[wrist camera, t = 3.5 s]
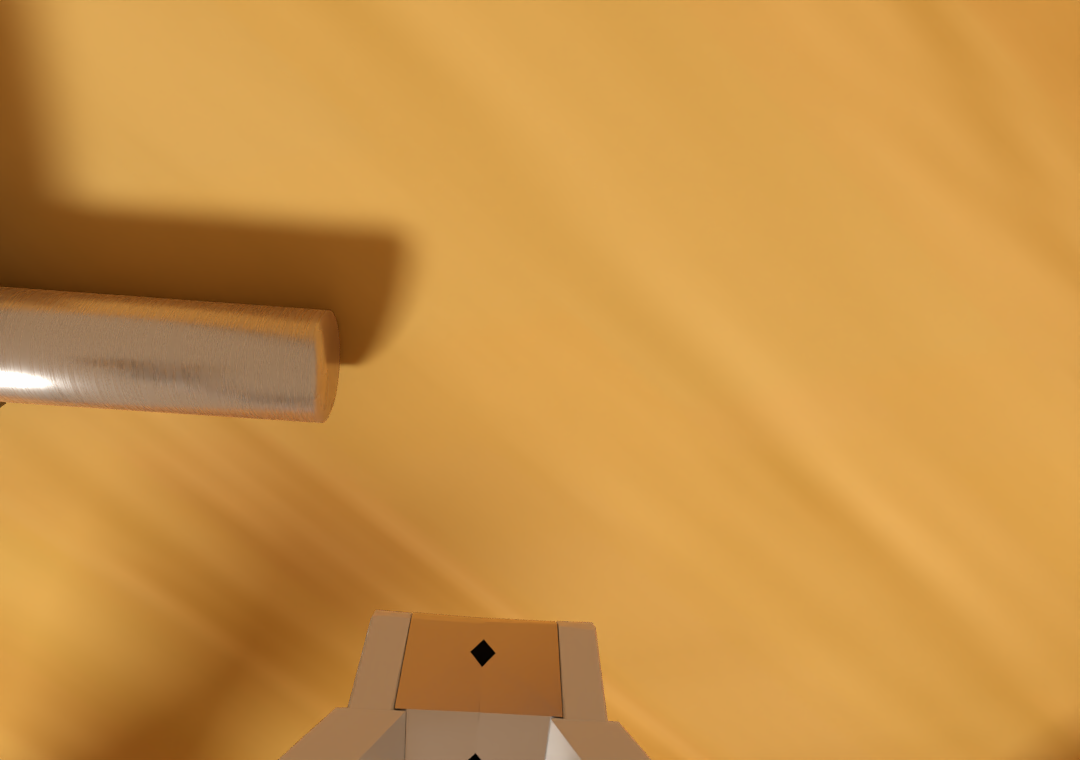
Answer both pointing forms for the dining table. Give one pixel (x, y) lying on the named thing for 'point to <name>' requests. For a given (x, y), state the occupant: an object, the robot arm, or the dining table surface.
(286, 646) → the dining table surface
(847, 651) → the dining table surface
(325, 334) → the tube
